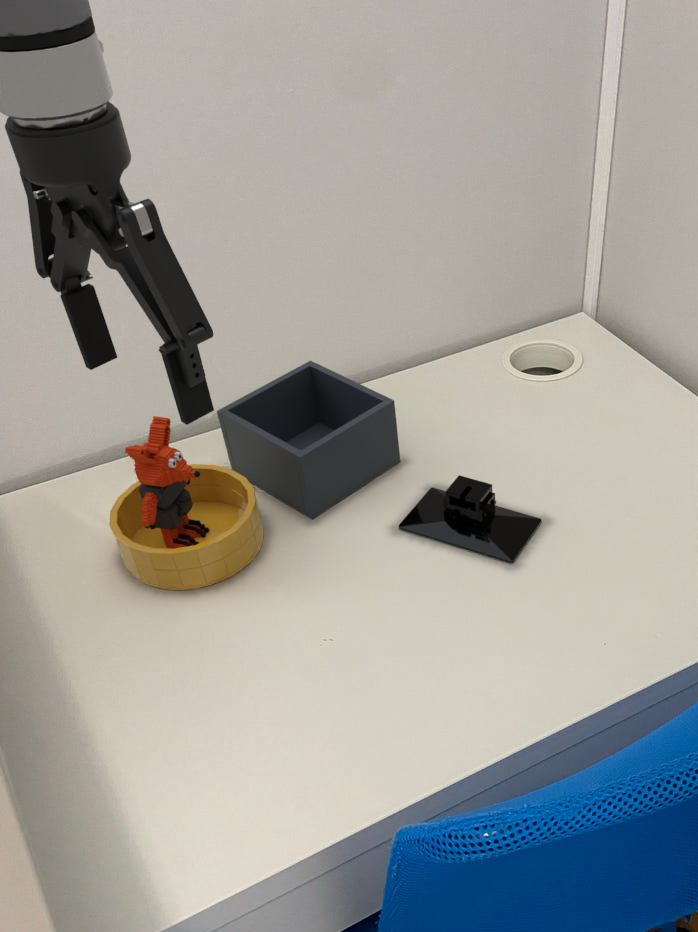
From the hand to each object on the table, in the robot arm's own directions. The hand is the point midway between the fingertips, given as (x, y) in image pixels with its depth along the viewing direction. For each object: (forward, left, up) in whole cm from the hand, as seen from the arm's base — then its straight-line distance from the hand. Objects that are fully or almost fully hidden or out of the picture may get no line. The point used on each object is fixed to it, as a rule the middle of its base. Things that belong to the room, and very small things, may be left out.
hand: (148, 388), depth 79 cm
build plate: (+19, +19, -17) cm, 32 cm away
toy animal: (0, 0, -17) cm, 17 cm away
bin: (0, +16, -17) cm, 23 cm away
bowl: (0, 0, -17) cm, 17 cm away
